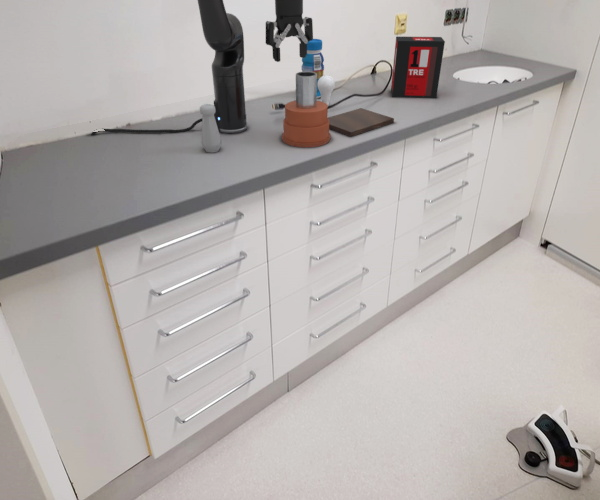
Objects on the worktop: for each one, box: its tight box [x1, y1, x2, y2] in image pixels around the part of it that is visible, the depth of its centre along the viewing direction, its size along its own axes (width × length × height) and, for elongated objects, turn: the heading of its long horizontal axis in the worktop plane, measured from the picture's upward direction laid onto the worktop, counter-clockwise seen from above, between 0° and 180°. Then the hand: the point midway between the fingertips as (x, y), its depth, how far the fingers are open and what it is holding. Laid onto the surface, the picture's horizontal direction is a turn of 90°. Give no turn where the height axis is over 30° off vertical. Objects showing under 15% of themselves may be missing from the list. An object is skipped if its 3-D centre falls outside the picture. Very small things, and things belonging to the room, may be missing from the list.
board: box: [327, 107, 395, 137], centre depth 156 cm, size 20×15×2 cm
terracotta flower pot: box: [281, 100, 332, 148], centre depth 142 cm, size 15×15×10 cm
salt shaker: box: [199, 103, 222, 154], centre depth 134 cm, size 6×6×13 cm
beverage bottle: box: [301, 38, 325, 99], centre depth 178 cm, size 8×8×20 cm
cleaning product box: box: [390, 36, 446, 99], centre depth 179 cm, size 16×9×20 cm, turn 84°
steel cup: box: [295, 71, 318, 109], centre depth 137 cm, size 6×6×9 cm
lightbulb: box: [317, 74, 336, 107], centre depth 168 cm, size 6×6×11 cm
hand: (290, 59), depth 136 cm, fingers open, 8 cm apart
